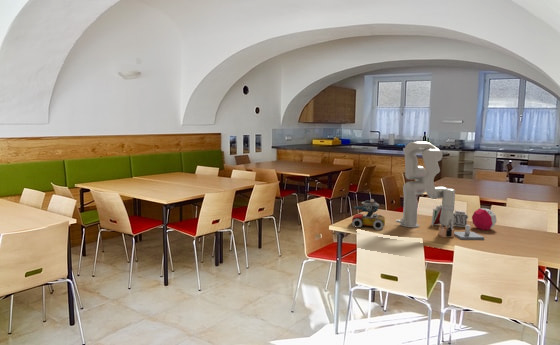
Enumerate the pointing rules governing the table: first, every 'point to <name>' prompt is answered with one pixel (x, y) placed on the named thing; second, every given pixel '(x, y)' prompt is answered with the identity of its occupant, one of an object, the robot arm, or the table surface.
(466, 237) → the post stand
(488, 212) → the decorative object
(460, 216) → the decorative sign
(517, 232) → the table surface
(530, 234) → the table surface
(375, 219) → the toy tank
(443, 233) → the collar
